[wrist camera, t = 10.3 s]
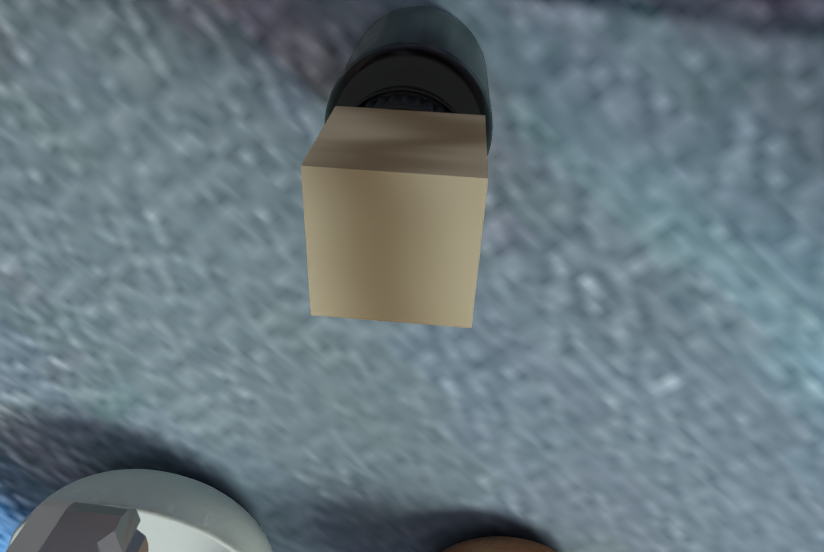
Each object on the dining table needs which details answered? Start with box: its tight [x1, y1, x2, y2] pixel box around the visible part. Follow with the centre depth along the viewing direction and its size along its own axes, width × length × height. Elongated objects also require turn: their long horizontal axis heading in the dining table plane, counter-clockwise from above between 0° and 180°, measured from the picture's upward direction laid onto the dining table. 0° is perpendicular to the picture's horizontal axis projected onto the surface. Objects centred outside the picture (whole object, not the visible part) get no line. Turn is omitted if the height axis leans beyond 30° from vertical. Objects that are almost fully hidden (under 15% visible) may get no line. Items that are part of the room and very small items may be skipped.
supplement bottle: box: [325, 6, 493, 156], centre depth 27 cm, size 7×7×12 cm
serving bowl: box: [9, 469, 273, 552], centre depth 52 cm, size 21×21×7 cm
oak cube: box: [301, 106, 488, 328], centre depth 20 cm, size 5×5×5 cm
